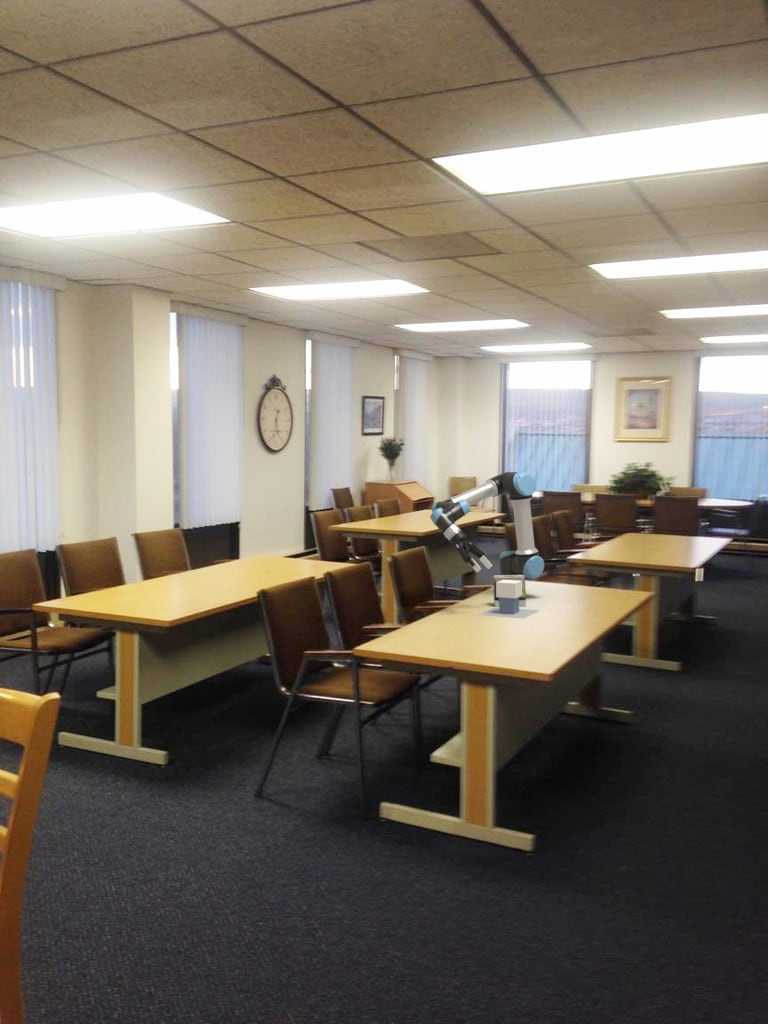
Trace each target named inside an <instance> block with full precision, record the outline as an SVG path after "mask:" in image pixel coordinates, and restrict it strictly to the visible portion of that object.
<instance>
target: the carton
mask: <svg viewBox="0 0 768 1024" xmlns="http://www.w3.org/2000/svg"><path fill="white" fill-rule="evenodd" d="M519 609H520V607H519V597H517V598H502V597H499V613H502V614H516V613H518V612H519Z"/></svg>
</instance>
